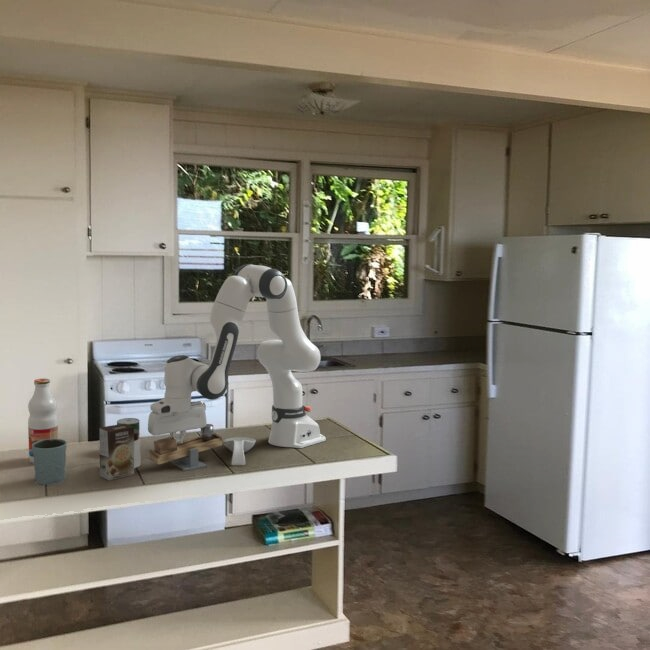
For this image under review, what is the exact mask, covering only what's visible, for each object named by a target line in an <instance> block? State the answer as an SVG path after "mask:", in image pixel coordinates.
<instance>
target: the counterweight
mask: <svg viewBox="0 0 650 650" xmlns="http://www.w3.org/2000/svg"><path fill="white" fill-rule="evenodd" d="M214 431H215V430H214V425H213V424H212V423H207V424H206V426H205V427H204V428H200V437H201V438H202V441H203V442H207V441H210V440H213V439H214V433H215V432H214Z"/></svg>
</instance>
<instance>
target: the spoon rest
mask: <svg viewBox="0 0 650 650" xmlns="http://www.w3.org/2000/svg"><path fill="white" fill-rule="evenodd" d="M222 443H223V444H224V446H225V447H226V448H227V449H228V450H230V451H231V453H232V457H231V466H246V456H245V453H247V452H248V451H250V450H251V449H253V448H254V446H255V444H256V439H255V438H252V437H244V436H243V437H239V436H238V437H230V438H225V439H224V440H222Z"/></svg>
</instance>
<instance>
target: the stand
mask: <svg viewBox="0 0 650 650" xmlns="http://www.w3.org/2000/svg"><path fill="white" fill-rule="evenodd" d="M169 462H170V463H171V464H173V465H174V466H176V467H178V468H179V469H181V470H182V471H184V472H187V471H191V470H192V471H193V470H196V469H202V468H206V467H207V464H205V463H204V462H202V461H201V460H199V452H198V449H197V448H195V449H190V450H189V455H188V456H185V457H181V458H178V459H175V460H171V461H169Z"/></svg>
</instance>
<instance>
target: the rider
mask: <svg viewBox="0 0 650 650" xmlns="http://www.w3.org/2000/svg"><path fill="white" fill-rule="evenodd" d="M153 447H154V450H155V452H156V453H158V454H159V455H163V454H166V453H170V452H173V451H176V450H177V443H176V440H175V439H173V438H172V437H171V436H168V437H164V438H161V439H157V440H154V441H153Z"/></svg>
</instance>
